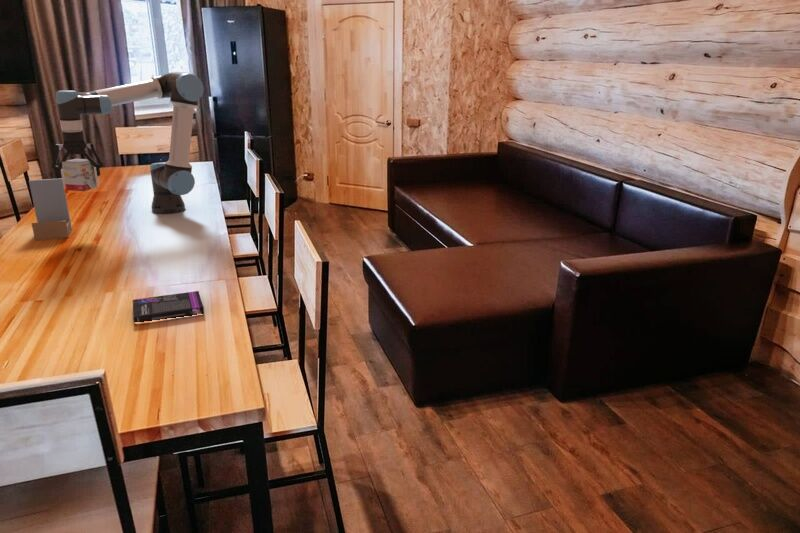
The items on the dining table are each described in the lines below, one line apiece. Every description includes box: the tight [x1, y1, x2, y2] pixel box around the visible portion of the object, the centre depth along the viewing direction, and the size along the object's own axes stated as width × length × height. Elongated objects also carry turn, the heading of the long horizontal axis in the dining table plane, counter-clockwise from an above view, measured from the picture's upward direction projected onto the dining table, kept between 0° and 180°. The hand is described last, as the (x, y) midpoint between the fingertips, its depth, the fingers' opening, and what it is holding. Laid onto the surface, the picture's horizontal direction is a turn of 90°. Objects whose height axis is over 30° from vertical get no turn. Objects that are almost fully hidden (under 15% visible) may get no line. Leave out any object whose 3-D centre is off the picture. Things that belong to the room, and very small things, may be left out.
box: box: [132, 290, 205, 323], centre depth 175 cm, size 14×4×20 cm
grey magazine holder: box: [28, 177, 73, 241], centre depth 238 cm, size 12×13×22 cm
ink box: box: [62, 158, 98, 192], centre depth 238 cm, size 9×9×12 cm
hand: (81, 184), depth 239 cm, fingers closed on ink box, 11 cm apart
